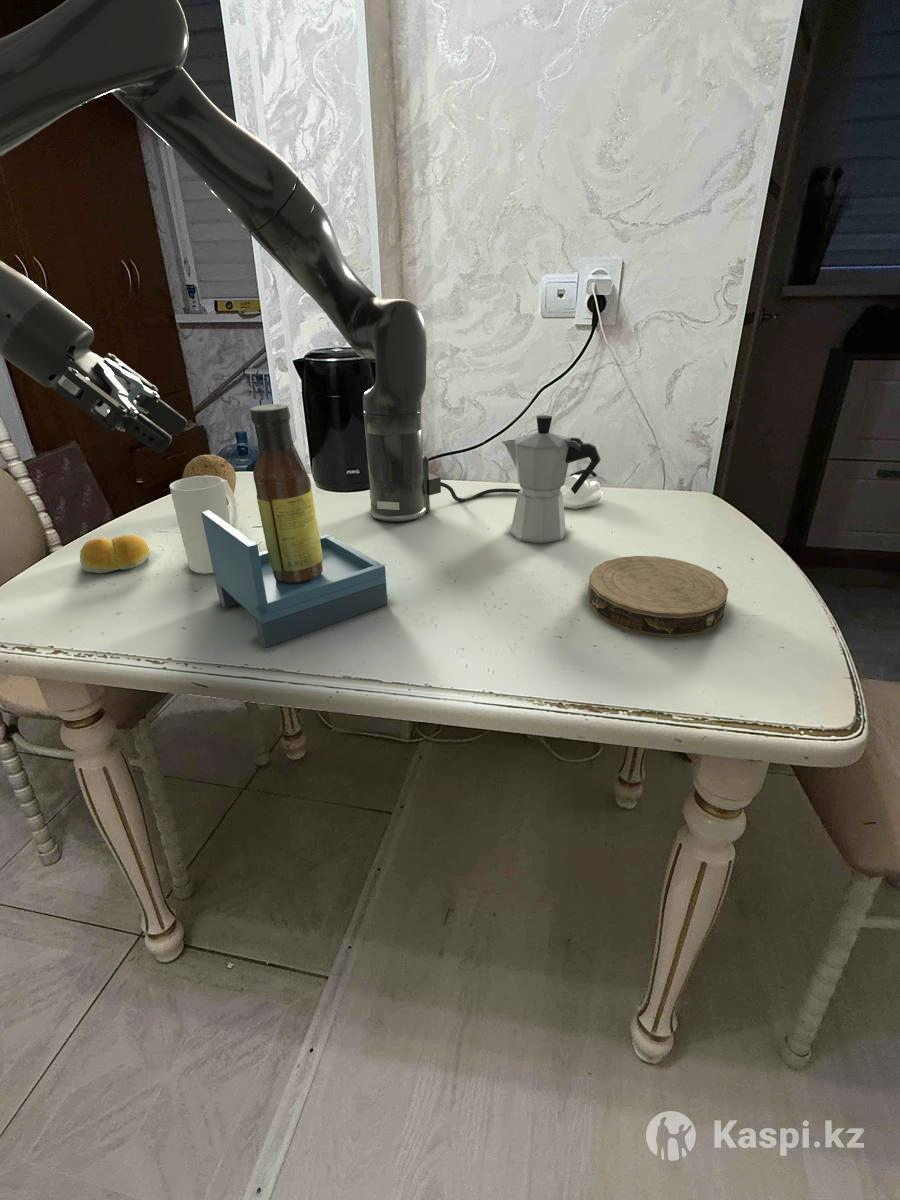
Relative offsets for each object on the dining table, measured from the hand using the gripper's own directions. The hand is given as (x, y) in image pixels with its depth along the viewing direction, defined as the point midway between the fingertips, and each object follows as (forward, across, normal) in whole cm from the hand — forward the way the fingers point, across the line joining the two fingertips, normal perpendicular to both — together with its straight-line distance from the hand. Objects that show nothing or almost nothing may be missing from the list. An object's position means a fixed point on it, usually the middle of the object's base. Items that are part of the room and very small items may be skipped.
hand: (175, 437), depth 68 cm
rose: (+56, +29, -26) cm, 69 cm away
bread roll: (+4, +17, +26) cm, 31 cm away
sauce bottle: (+20, -1, +4) cm, 20 cm away
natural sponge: (+11, +38, +18) cm, 43 cm away
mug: (+14, +15, +16) cm, 26 cm away
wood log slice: (+53, -11, -23) cm, 58 cm away
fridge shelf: (+23, -1, +7) cm, 24 cm away
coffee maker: (+49, +15, -19) cm, 54 cm away
